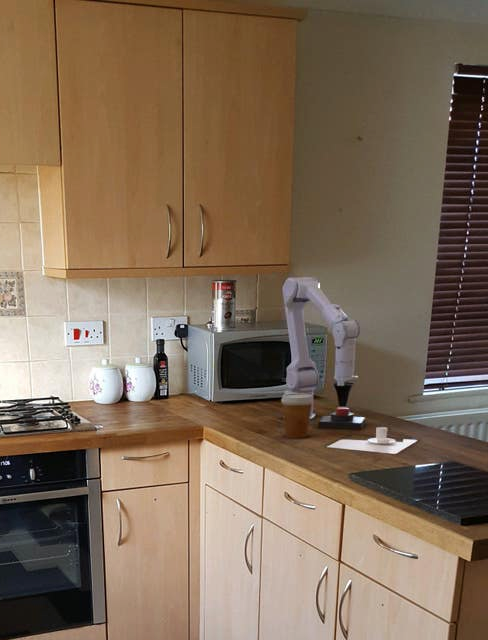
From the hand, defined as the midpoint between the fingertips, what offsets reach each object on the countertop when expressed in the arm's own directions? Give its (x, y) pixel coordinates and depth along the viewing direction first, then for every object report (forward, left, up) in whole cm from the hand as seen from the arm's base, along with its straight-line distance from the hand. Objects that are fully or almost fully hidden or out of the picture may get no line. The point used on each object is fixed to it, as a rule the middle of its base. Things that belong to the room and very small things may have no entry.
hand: (342, 406), depth 272 cm
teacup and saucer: (+12, -24, -6) cm, 28 cm away
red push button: (0, 0, -3) cm, 3 cm away
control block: (0, 0, -6) cm, 6 cm away
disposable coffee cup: (-11, -18, -6) cm, 22 cm away
